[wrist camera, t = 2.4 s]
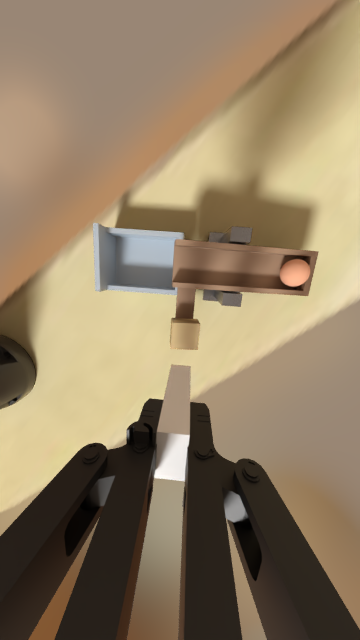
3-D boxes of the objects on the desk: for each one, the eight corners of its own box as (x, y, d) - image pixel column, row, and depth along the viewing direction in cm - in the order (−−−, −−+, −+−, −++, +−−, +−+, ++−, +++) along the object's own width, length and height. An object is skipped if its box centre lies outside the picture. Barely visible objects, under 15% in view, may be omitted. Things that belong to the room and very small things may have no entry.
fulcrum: (202, 299, 35) (207, 310, 26) (209, 232, 32) (217, 218, 23) (278, 305, 35) (310, 318, 25) (291, 238, 32) (333, 225, 23)
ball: (272, 284, 26) (298, 287, 23) (276, 258, 25) (304, 257, 23) (286, 285, 28) (311, 288, 25) (291, 260, 27) (318, 260, 24)
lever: (168, 339, 29) (169, 348, 26) (174, 241, 26) (175, 238, 23) (283, 344, 31) (297, 353, 28) (303, 253, 27) (321, 251, 24)
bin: (113, 286, 35) (95, 291, 28) (112, 232, 33) (92, 223, 26) (180, 292, 35) (178, 297, 28) (184, 237, 33) (183, 229, 26)
